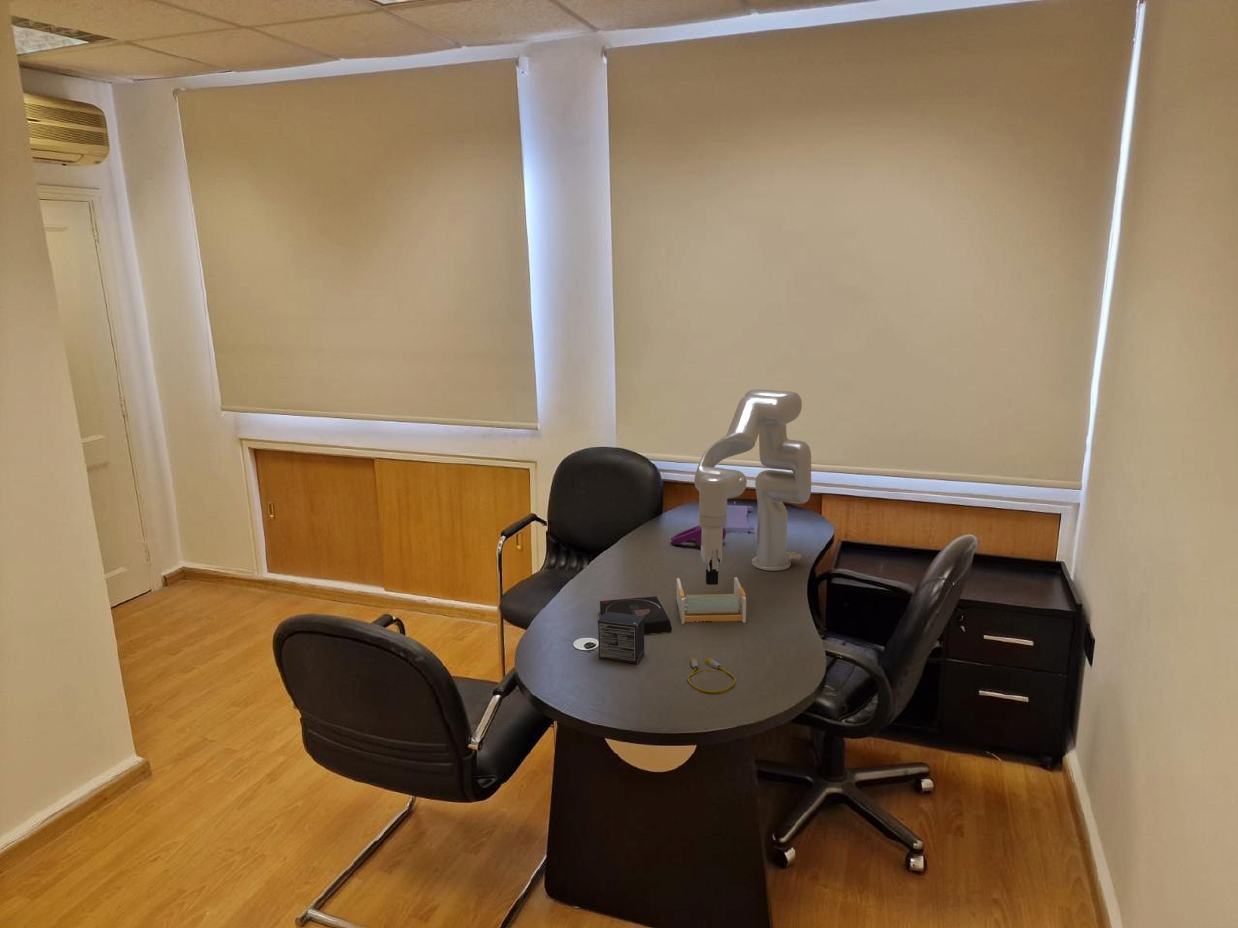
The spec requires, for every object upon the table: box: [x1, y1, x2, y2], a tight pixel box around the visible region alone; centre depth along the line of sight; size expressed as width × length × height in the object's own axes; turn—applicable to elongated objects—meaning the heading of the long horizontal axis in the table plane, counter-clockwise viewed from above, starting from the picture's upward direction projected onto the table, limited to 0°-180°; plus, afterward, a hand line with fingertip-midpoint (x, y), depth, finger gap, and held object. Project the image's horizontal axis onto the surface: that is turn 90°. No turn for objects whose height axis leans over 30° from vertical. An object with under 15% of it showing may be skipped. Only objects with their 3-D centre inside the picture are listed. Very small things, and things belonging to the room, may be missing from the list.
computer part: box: [724, 501, 755, 534], centre depth 309 cm, size 30×4×15 cm
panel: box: [685, 593, 739, 616], centre depth 224 cm, size 14×2×6 cm, turn 91°
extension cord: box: [687, 656, 737, 695], centre depth 192 cm, size 12×16×2 cm
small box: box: [597, 612, 645, 665], centre depth 202 cm, size 11×6×10 cm, turn 71°
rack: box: [676, 576, 747, 625], centre depth 228 cm, size 18×16×8 cm
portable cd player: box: [599, 596, 673, 635], centre depth 222 cm, size 16×17×4 cm
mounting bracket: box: [670, 524, 727, 549], centre depth 283 cm, size 10×8×18 cm
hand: (711, 583), depth 222 cm, fingers closed
